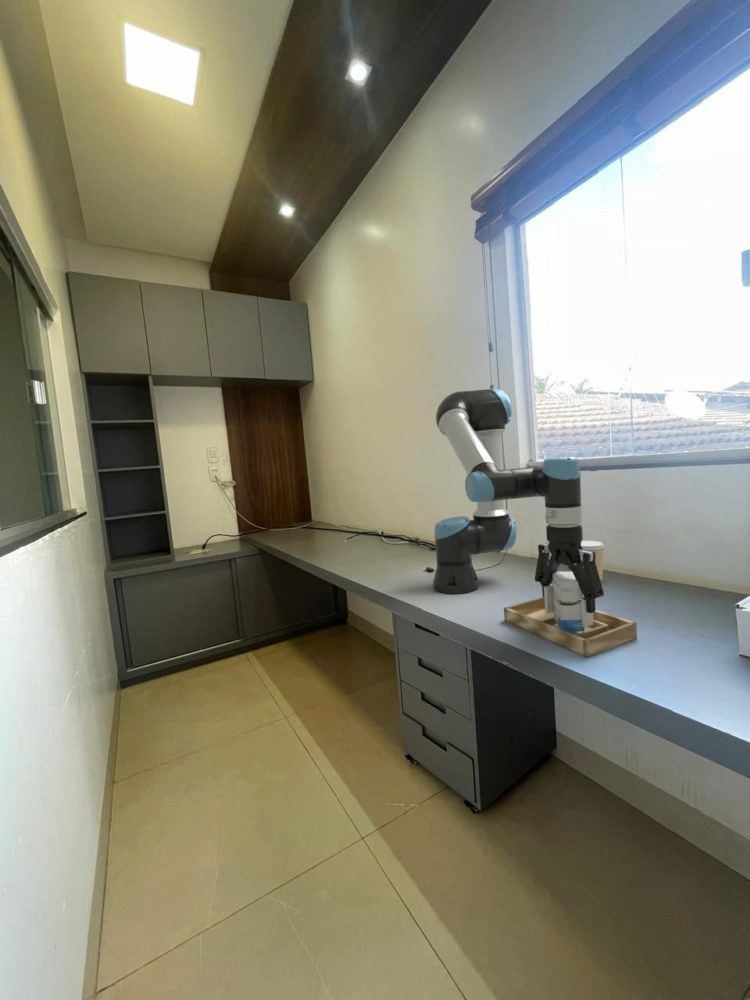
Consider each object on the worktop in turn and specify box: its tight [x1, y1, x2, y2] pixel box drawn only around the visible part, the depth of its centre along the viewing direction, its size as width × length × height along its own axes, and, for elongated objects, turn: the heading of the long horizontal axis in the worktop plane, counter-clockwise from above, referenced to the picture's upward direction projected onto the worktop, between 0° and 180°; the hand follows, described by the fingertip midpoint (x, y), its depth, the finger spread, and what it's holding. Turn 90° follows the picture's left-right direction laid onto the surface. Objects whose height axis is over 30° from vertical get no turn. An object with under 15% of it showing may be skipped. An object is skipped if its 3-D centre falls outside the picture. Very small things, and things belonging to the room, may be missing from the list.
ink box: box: [551, 571, 584, 631], centre depth 93 cm, size 8×5×12 cm, turn 168°
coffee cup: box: [574, 540, 605, 582], centre depth 130 cm, size 9×9×12 cm
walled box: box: [503, 596, 638, 659], centre depth 96 cm, size 24×16×4 cm, turn 24°
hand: (568, 618), depth 93 cm, fingers open, 9 cm apart
